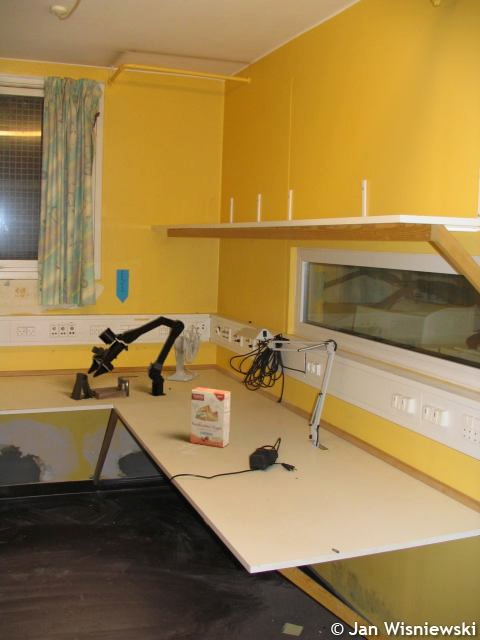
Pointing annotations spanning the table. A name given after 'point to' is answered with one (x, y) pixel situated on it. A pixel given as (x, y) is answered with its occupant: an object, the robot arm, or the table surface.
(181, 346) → the pale grey desk fan
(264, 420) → the table surface
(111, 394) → the cradle
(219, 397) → the cracker box
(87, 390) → the phone stand
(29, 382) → the table surface
